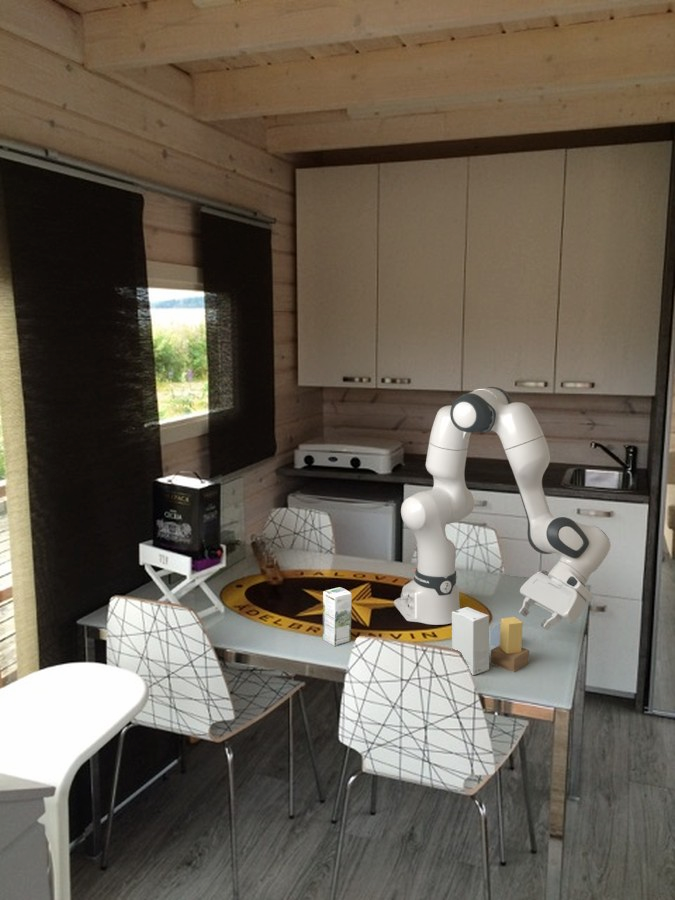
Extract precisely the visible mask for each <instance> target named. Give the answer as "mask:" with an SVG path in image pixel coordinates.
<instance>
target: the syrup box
mask: <svg viewBox="0 0 675 900" xmlns="http://www.w3.org/2000/svg"><path fill="white" fill-rule="evenodd" d="M322 592H323V593H322V637H321V638H322V640H323V641H324V642H325V643H328V644H330V645H331V646H334V647H337V646H340V645H343V644H346V643H350V642H351V638H352V637H351V636H352V635H351V632H352V631H351V630H352V603H353V602H352V598H353V595H352V593H351V591H349V590H347V589H345V588H343V587H340V586H339V587H335V588H331V589H325V590H324V591H322Z"/></svg>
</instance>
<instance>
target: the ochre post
mask: <svg viewBox="0 0 675 900" xmlns="http://www.w3.org/2000/svg"><path fill="white" fill-rule="evenodd" d="M500 624H501V629H500V648H501V649H502V650H503V651H505V652H506V653H507V654H509V653H516V652H521V647H522V645H523V644H522V641H523V627H524V625H523V624H524V622H523V621H521V620H520V619H518V618H517V617H516V616H510V617H503V618H500Z"/></svg>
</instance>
